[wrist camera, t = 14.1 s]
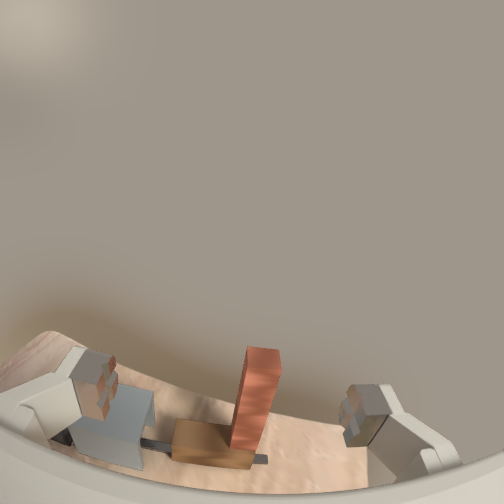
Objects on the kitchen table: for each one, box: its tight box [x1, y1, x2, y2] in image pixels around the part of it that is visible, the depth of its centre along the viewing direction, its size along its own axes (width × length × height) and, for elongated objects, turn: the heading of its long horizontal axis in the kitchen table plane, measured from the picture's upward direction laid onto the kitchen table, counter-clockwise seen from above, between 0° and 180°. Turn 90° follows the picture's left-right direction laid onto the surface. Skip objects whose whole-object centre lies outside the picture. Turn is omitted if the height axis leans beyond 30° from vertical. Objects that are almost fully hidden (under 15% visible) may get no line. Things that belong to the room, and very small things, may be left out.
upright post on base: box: [171, 346, 282, 470], centre depth 32 cm, size 10×4×18 cm, turn 91°
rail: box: [140, 438, 268, 464], centre depth 34 cm, size 26×1×1 cm, turn 91°
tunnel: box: [68, 383, 155, 471], centre depth 33 cm, size 9×9×7 cm
